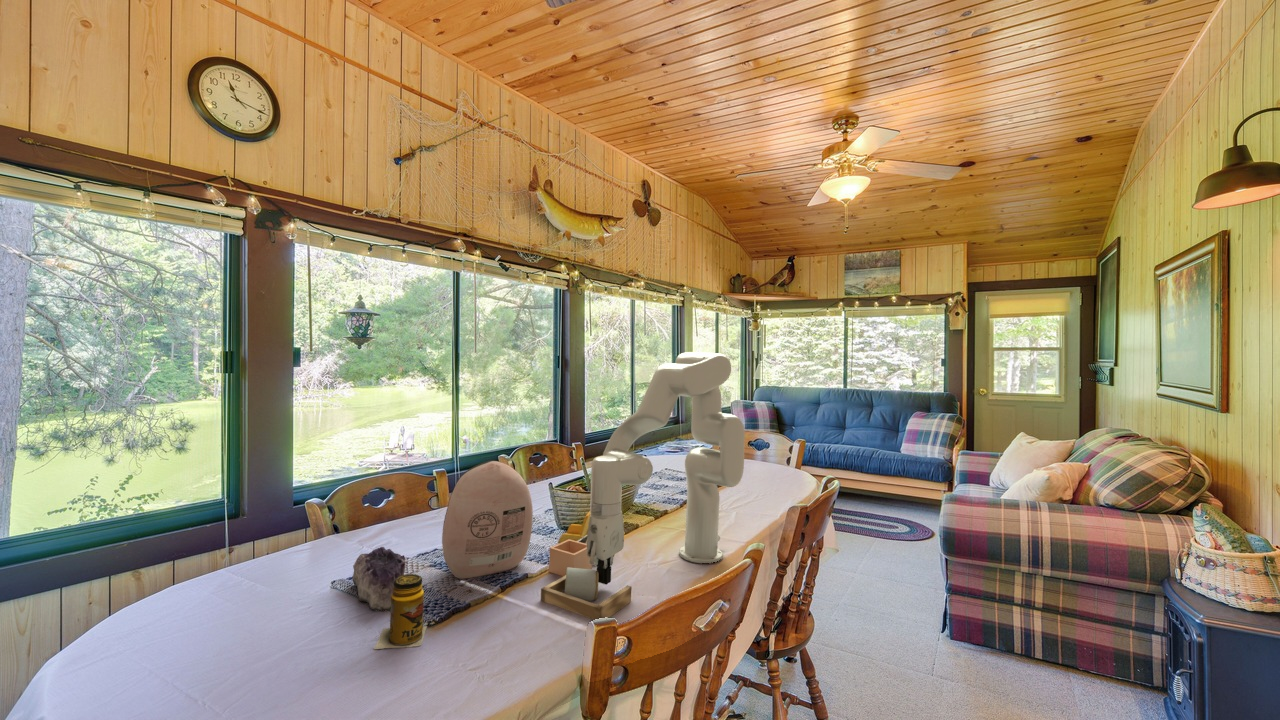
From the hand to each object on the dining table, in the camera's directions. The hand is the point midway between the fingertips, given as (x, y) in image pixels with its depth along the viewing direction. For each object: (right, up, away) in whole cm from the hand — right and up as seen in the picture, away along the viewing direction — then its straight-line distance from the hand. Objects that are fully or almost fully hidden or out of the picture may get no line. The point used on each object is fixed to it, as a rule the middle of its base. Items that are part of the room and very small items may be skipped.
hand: (603, 581), depth 130 cm
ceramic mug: (-6, -3, -3) cm, 7 cm away
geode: (-52, -1, -5) cm, 52 cm away
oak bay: (-3, -2, -5) cm, 7 cm away
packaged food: (-31, -1, +8) cm, 32 cm away
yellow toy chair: (-11, -2, +34) cm, 36 cm away
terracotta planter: (-9, -2, +10) cm, 14 cm away
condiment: (-39, -2, -24) cm, 45 cm away
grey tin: (-5, -2, +20) cm, 21 cm away
